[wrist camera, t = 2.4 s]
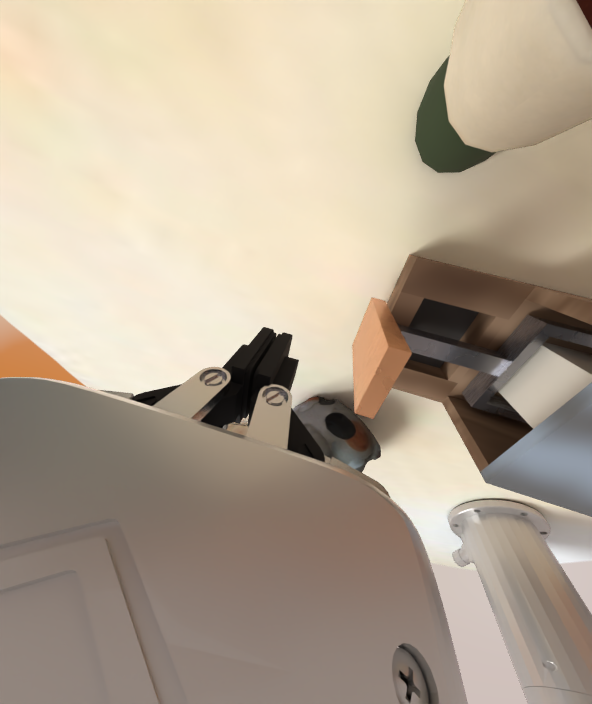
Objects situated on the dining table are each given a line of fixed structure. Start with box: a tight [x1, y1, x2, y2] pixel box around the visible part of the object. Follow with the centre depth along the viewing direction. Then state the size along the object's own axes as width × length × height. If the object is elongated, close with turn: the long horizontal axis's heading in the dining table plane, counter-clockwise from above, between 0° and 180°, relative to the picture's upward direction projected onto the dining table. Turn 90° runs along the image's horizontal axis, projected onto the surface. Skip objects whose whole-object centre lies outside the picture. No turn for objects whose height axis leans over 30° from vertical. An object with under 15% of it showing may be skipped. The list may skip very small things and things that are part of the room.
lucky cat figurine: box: [293, 396, 381, 473], centre depth 27 cm, size 15×12×14 cm
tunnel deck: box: [387, 255, 592, 517], centre depth 17 cm, size 13×26×11 cm, turn 78°
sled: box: [352, 298, 592, 424], centre depth 15 cm, size 9×20×9 cm, turn 78°
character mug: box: [415, 0, 592, 173], centre depth 9 cm, size 11×7×13 cm, turn 62°
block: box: [498, 342, 592, 429], centre depth 16 cm, size 5×5×6 cm
